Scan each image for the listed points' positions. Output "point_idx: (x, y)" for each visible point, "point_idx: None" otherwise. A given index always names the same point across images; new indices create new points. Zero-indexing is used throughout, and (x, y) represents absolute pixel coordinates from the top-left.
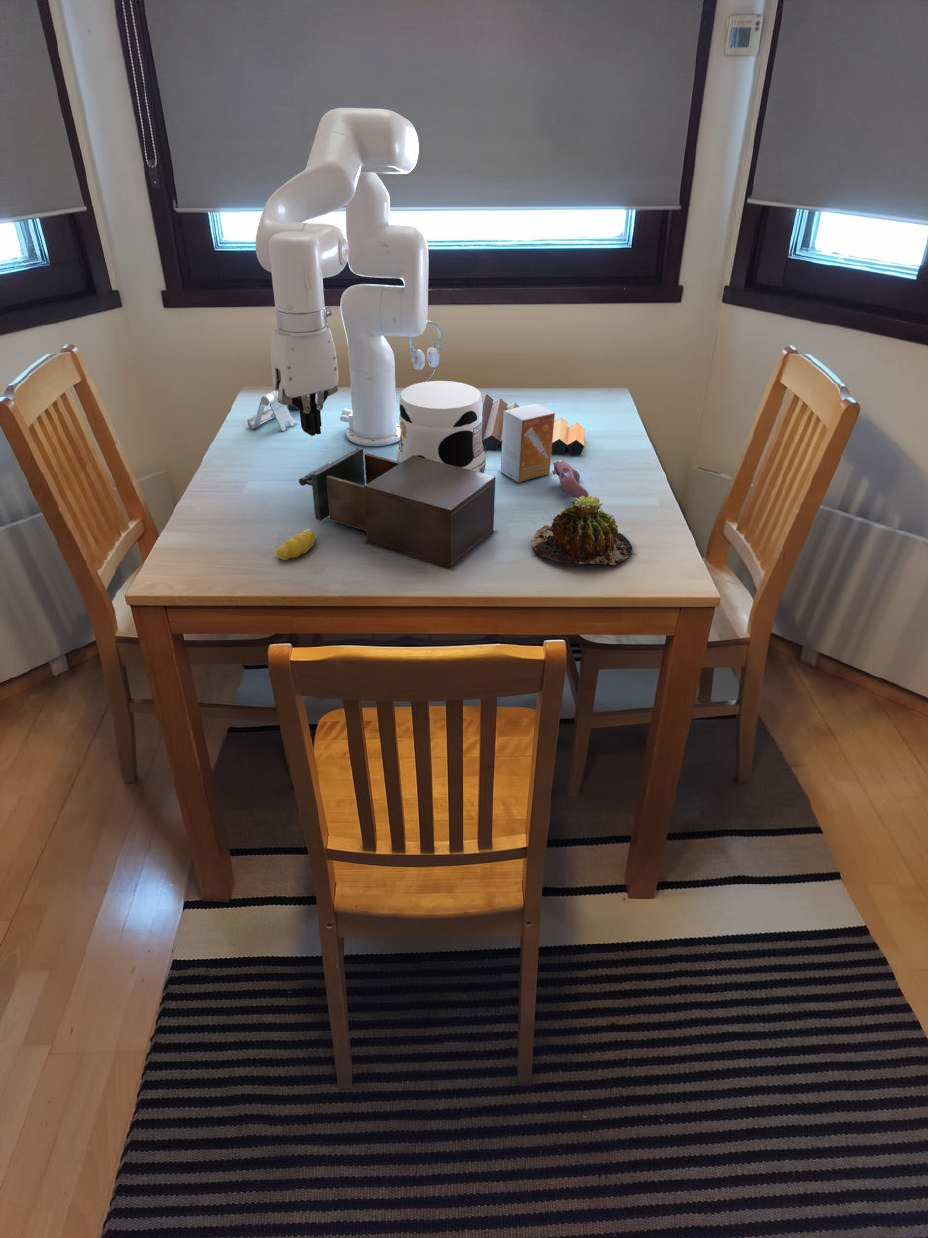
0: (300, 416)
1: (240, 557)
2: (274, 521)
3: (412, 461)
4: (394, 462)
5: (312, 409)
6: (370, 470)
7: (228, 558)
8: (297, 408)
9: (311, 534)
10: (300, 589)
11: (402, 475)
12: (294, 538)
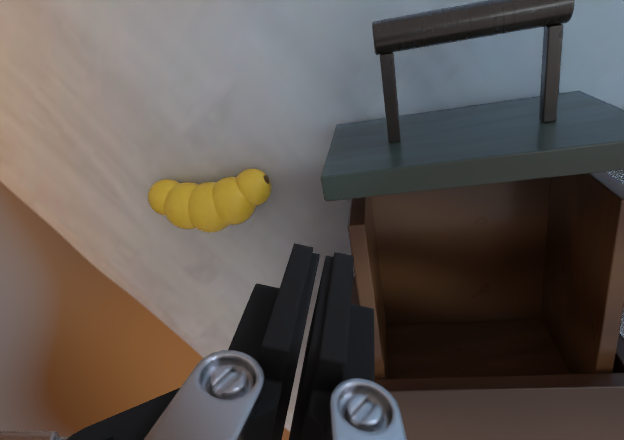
0: (234, 337)
1: (97, 103)
2: (268, 6)
3: (600, 407)
4: (602, 327)
5: (301, 432)
6: (586, 199)
7: (71, 84)
8: (208, 364)
9: (239, 220)
10: (139, 289)
11: (477, 432)
12: (188, 214)
